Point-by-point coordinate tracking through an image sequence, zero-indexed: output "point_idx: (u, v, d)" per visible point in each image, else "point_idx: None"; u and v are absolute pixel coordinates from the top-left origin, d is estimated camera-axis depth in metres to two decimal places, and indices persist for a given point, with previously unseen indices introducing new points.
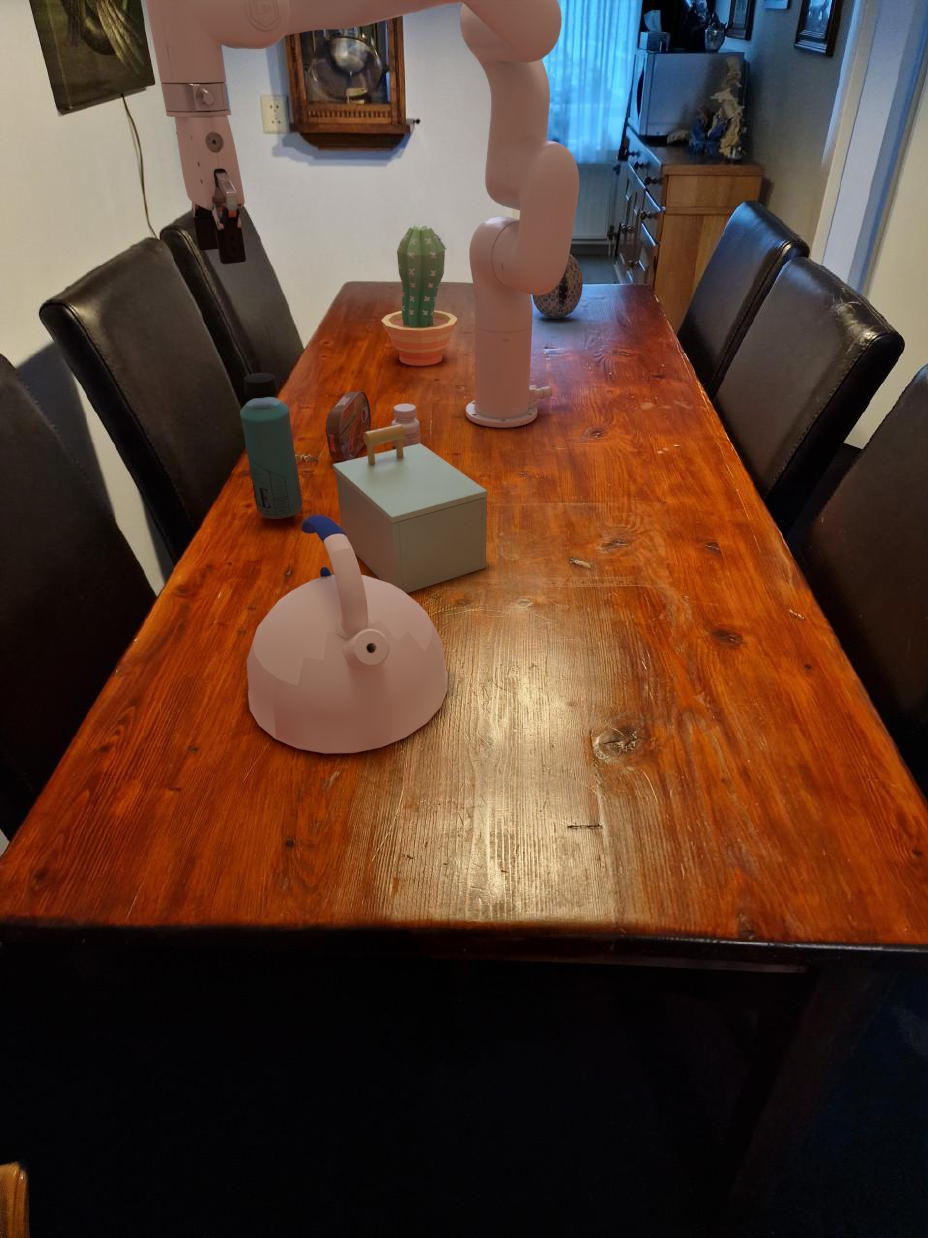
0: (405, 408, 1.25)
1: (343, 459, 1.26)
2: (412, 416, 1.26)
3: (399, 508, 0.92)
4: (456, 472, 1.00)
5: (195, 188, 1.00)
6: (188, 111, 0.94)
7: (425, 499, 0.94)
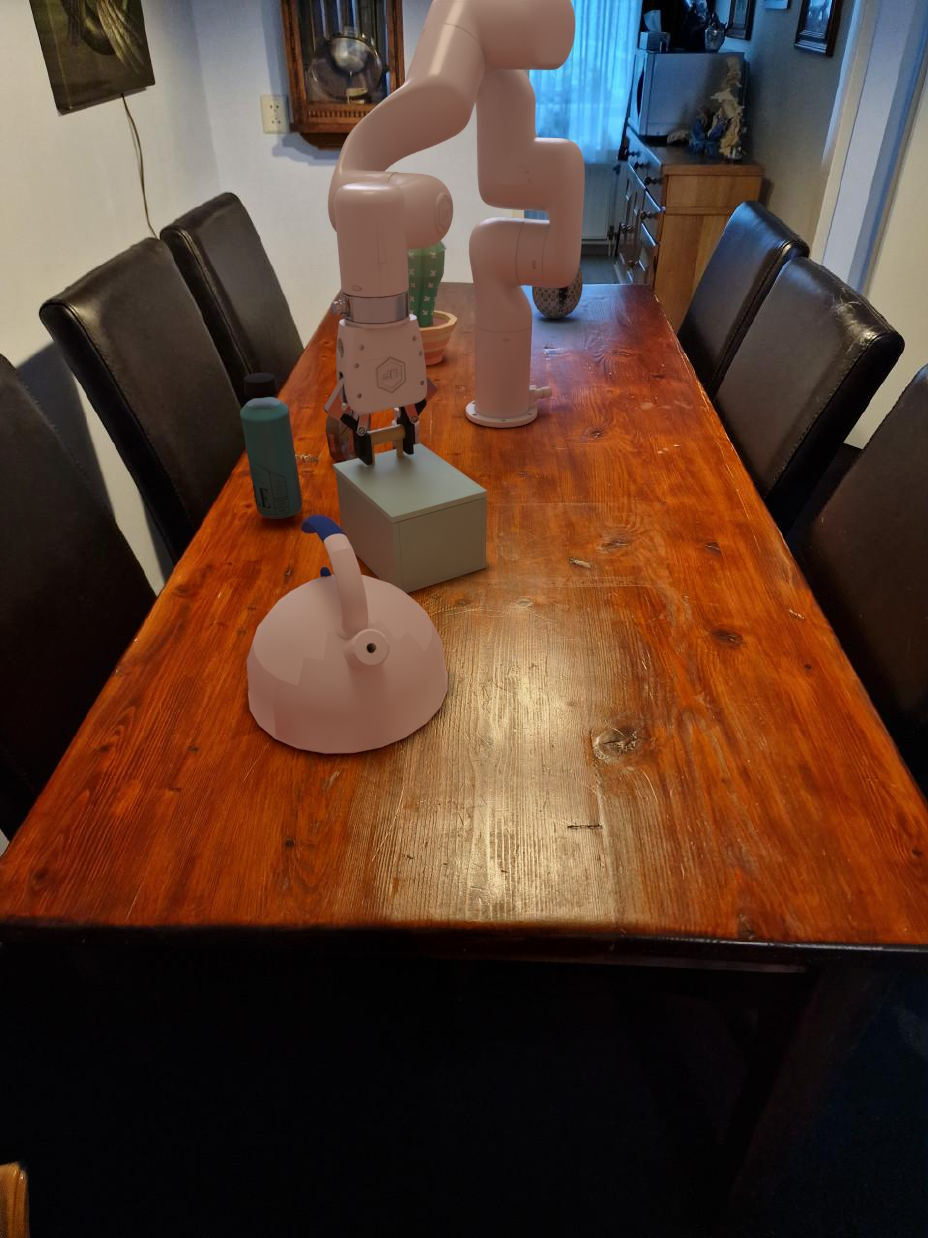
0: None
1: (343, 459, 1.26)
2: None
3: (399, 508, 0.92)
4: (456, 472, 1.00)
5: None
6: None
7: (425, 499, 0.94)
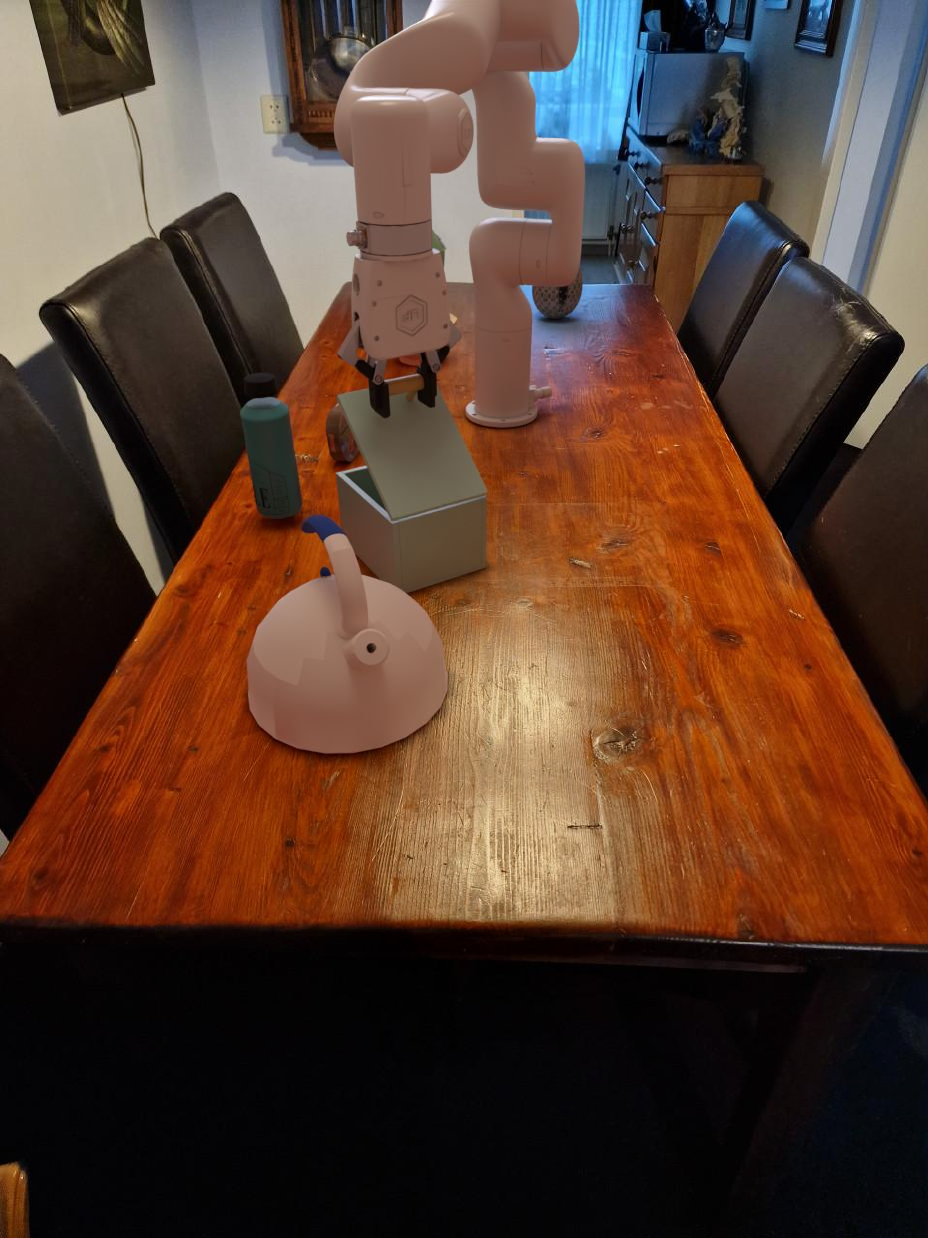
0: None
1: (343, 459, 1.26)
2: None
3: (401, 504, 0.91)
4: (463, 448, 0.97)
5: None
6: None
7: (428, 494, 0.93)
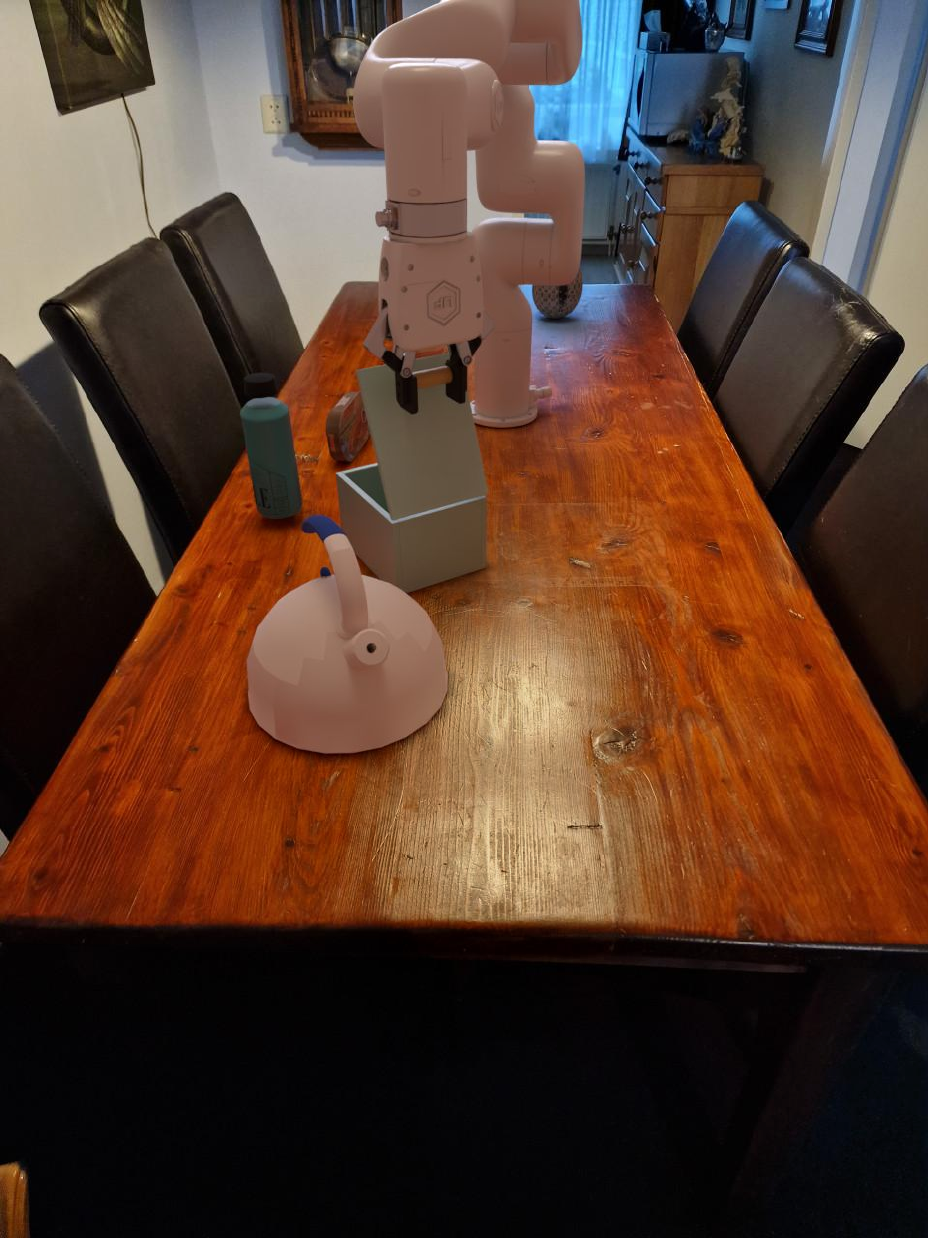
0: None
1: (343, 459, 1.26)
2: None
3: (403, 505, 0.91)
4: (474, 442, 0.94)
5: None
6: None
7: (431, 494, 0.92)
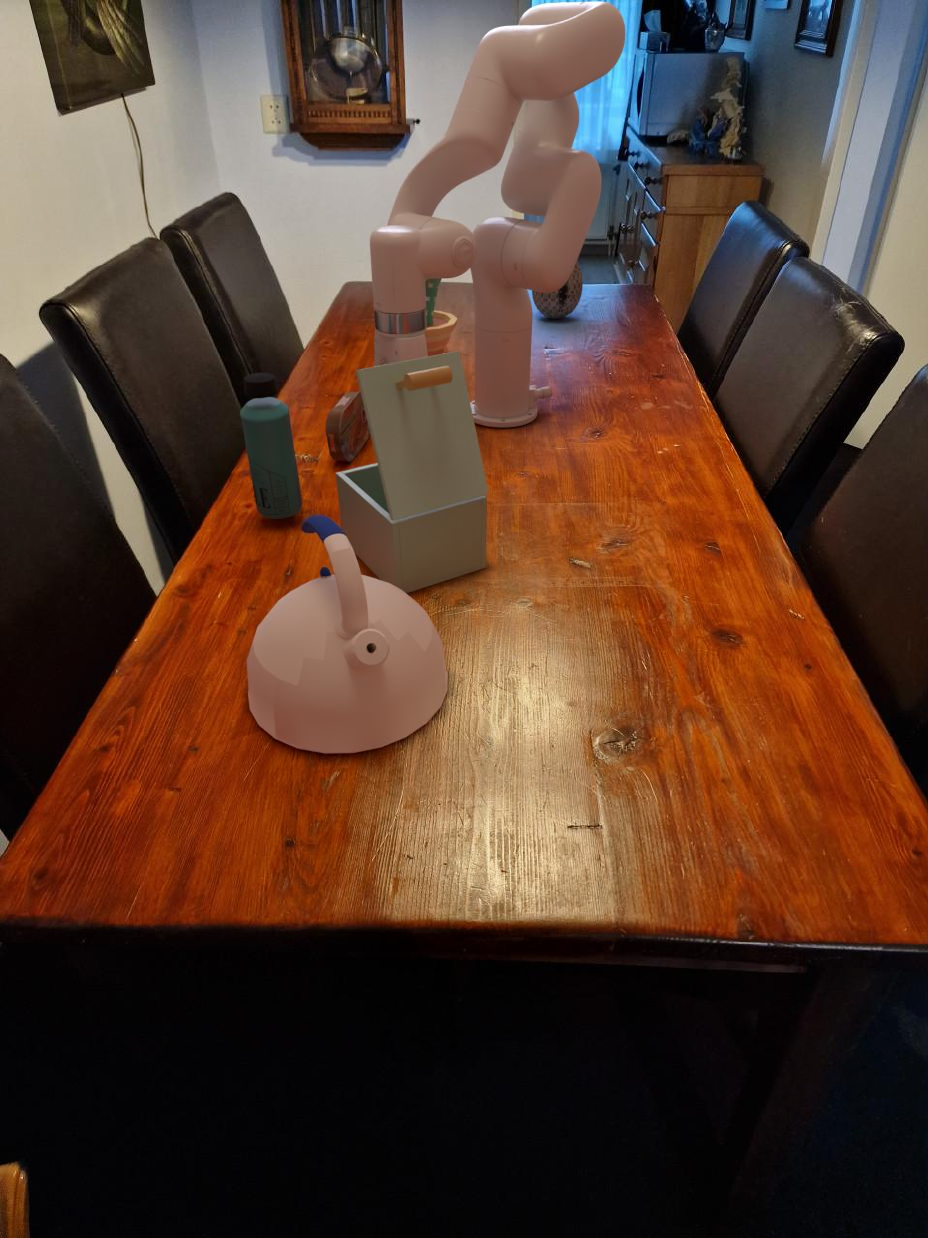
0: None
1: (343, 459, 1.26)
2: None
3: (403, 505, 0.91)
4: (474, 442, 0.94)
5: None
6: None
7: (431, 494, 0.92)
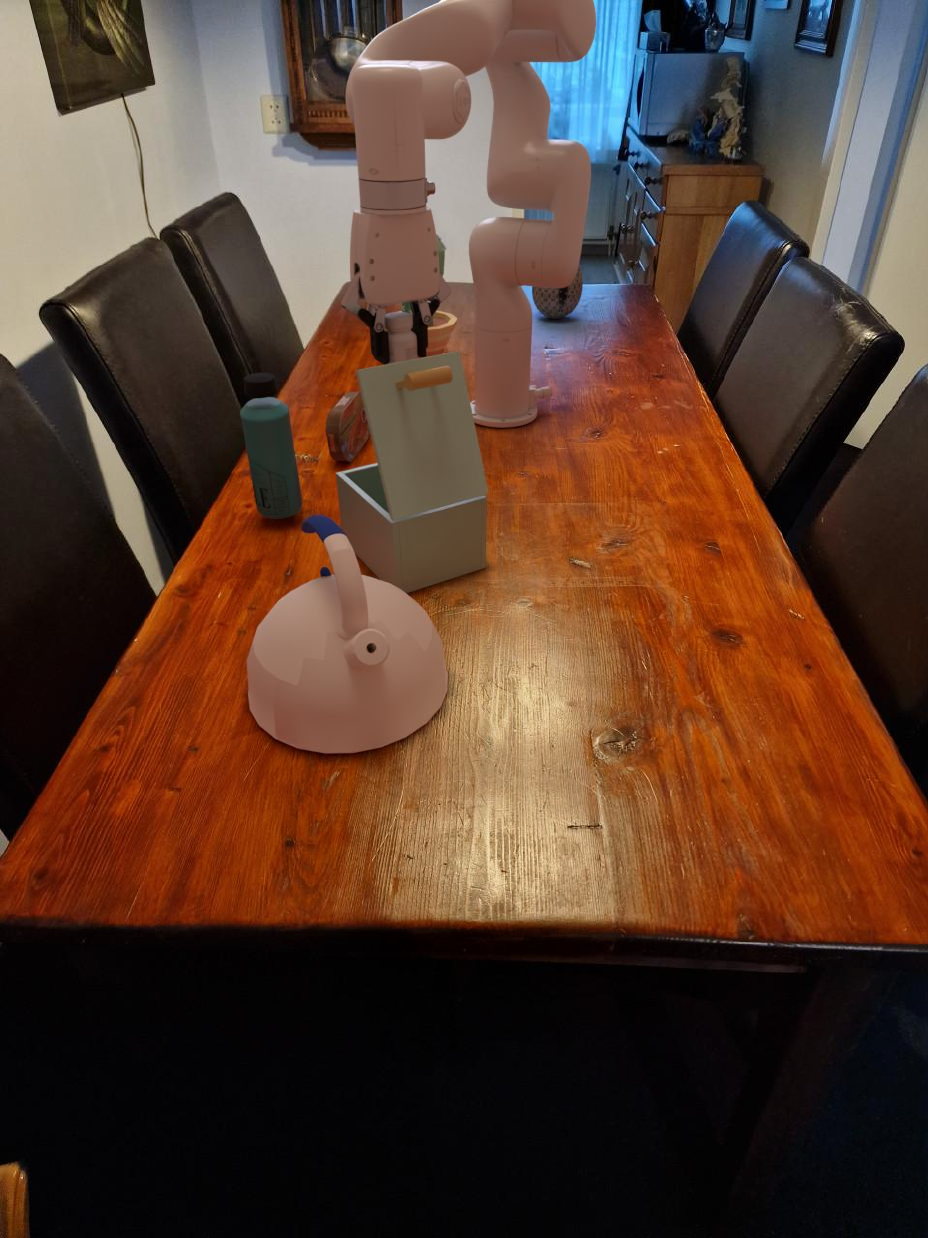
0: (393, 315, 0.99)
1: (343, 459, 1.26)
2: (388, 326, 0.99)
3: (403, 505, 0.91)
4: (474, 442, 0.94)
5: (415, 282, 0.96)
6: None
7: (431, 494, 0.92)
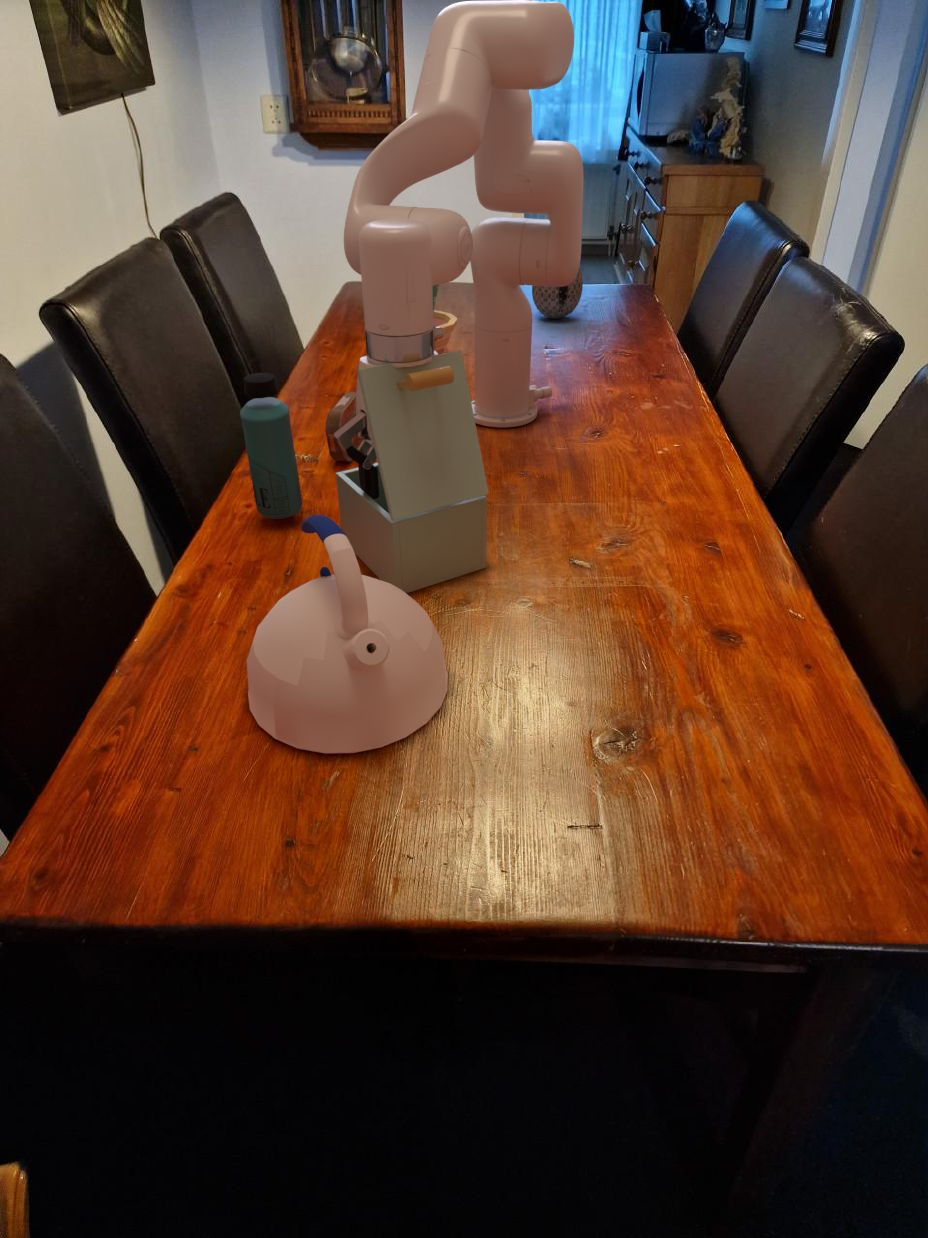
0: None
1: (343, 459, 1.26)
2: None
3: (404, 505, 0.91)
4: (474, 442, 0.94)
5: None
6: (433, 351, 0.91)
7: (431, 494, 0.92)
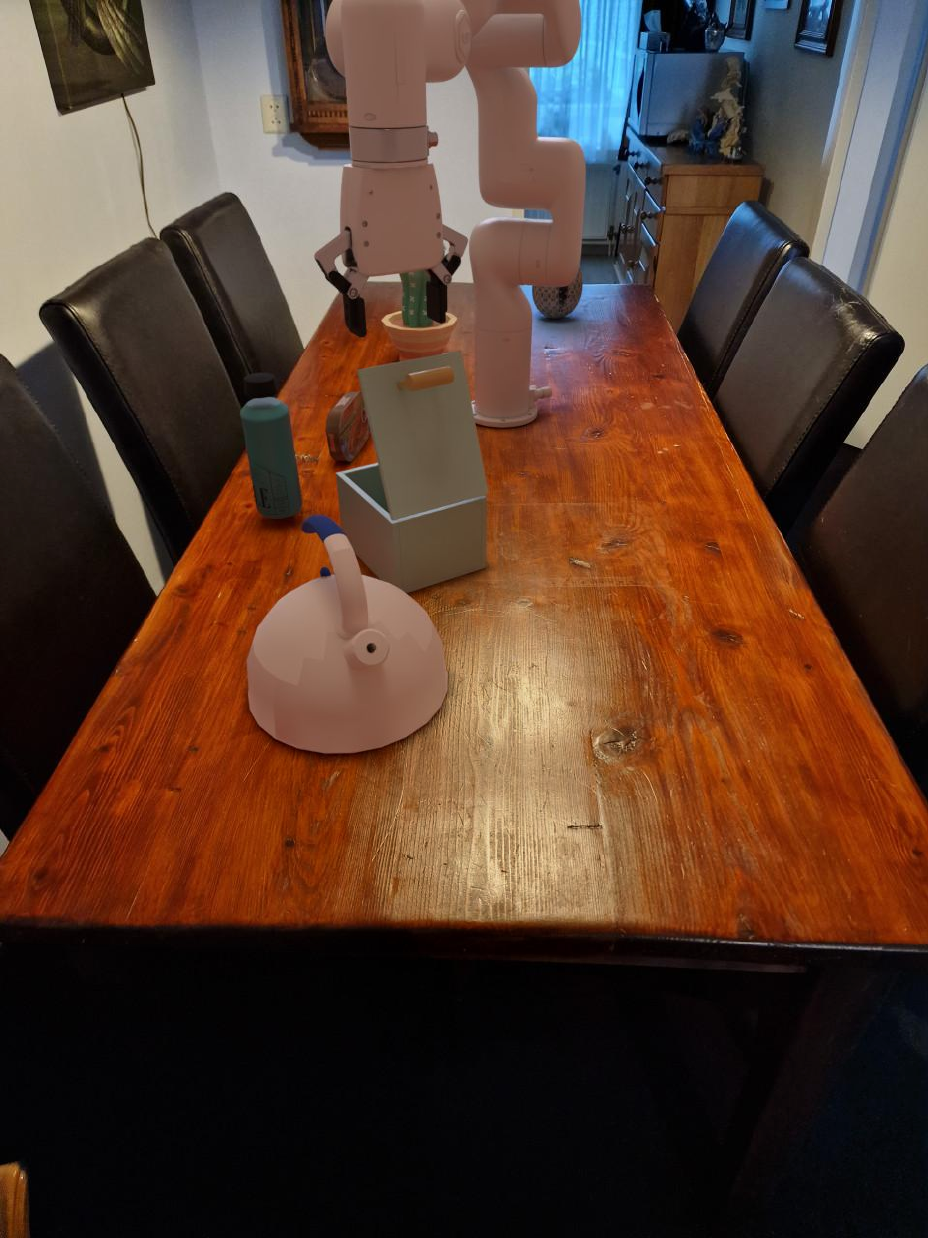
0: None
1: (343, 459, 1.26)
2: None
3: (404, 505, 0.91)
4: (474, 442, 0.94)
5: (416, 249, 0.84)
6: (427, 157, 0.80)
7: (431, 494, 0.92)
